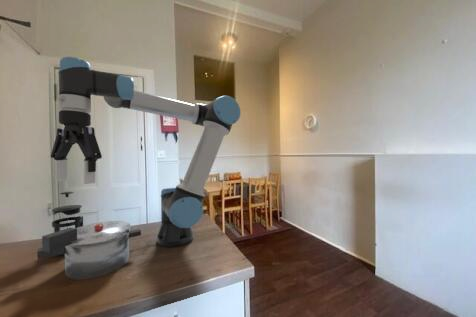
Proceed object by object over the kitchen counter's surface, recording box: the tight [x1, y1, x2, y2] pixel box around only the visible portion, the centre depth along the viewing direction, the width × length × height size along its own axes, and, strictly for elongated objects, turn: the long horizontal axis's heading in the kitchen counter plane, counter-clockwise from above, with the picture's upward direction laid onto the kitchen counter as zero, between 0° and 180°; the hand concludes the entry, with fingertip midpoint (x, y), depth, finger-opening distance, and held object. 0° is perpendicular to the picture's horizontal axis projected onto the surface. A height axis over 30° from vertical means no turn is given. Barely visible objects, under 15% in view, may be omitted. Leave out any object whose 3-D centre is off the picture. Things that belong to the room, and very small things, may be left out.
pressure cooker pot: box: [37, 228, 142, 280], centre depth 69 cm, size 28×18×10 cm, turn 127°
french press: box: [51, 191, 84, 257], centre depth 80 cm, size 12×9×23 cm
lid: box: [41, 220, 131, 252], centre depth 67 cm, size 24×19×5 cm
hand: (75, 182), depth 61 cm, fingers open, 13 cm apart
